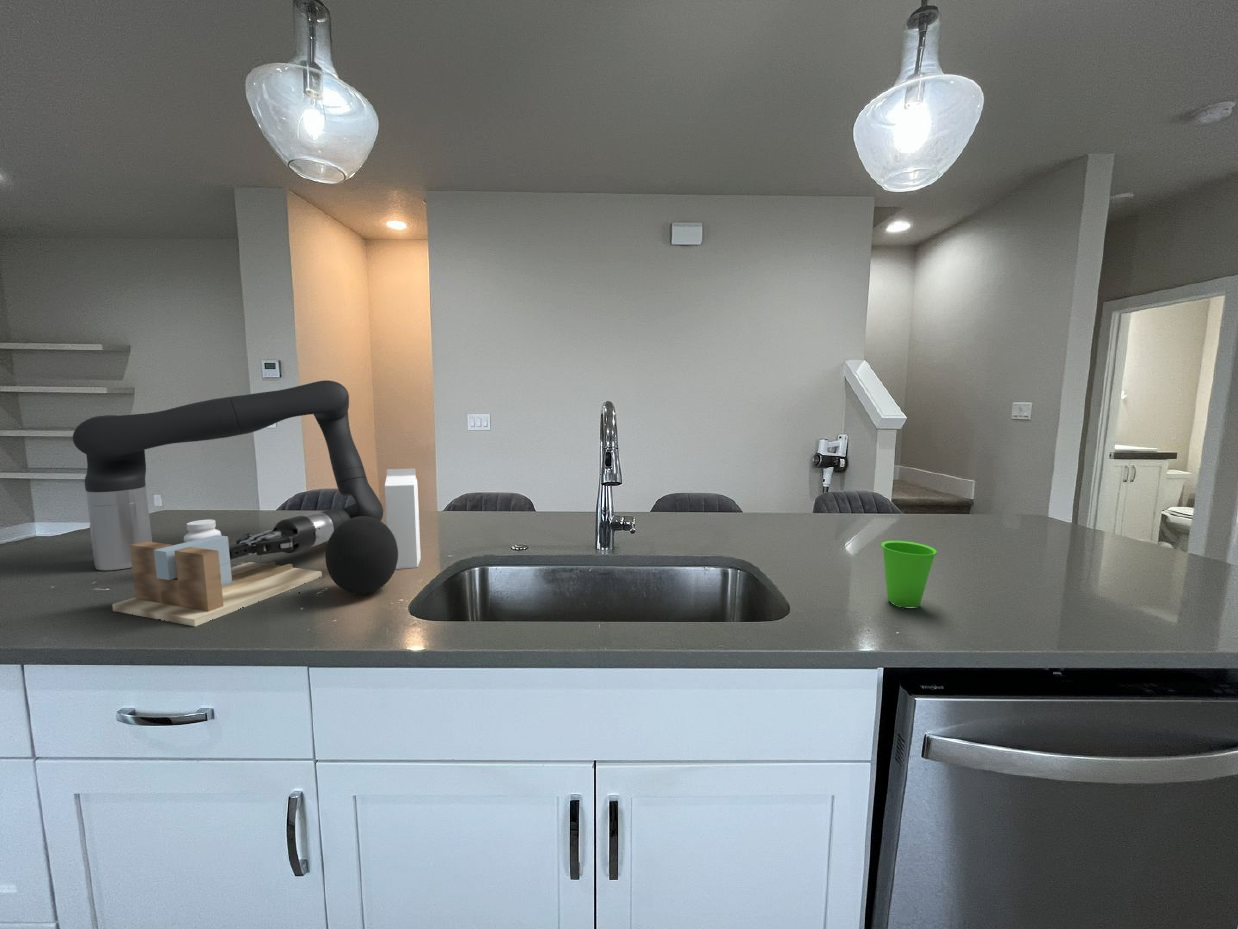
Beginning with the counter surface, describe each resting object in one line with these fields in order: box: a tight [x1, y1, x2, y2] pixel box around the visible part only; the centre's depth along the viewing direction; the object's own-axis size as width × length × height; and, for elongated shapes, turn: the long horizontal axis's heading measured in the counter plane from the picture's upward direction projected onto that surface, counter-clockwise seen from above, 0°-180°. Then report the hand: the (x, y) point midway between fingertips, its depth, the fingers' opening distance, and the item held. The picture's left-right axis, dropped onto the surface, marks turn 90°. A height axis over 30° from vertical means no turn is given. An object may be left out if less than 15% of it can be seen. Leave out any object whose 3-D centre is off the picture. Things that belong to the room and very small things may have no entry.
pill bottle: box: [183, 519, 222, 543], centre depth 104 cm, size 6×6×11 cm
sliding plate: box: [154, 535, 232, 586], centre depth 88 cm, size 3×10×10 cm, turn 164°
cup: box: [880, 540, 938, 608], centre depth 91 cm, size 9×9×11 cm
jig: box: [111, 541, 323, 627], centre depth 93 cm, size 20×24×11 cm
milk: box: [384, 468, 422, 570], centre depth 109 cm, size 6×6×22 cm
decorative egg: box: [324, 516, 398, 595], centre depth 93 cm, size 12×12×15 cm
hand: (223, 554), depth 93 cm, fingers closed
